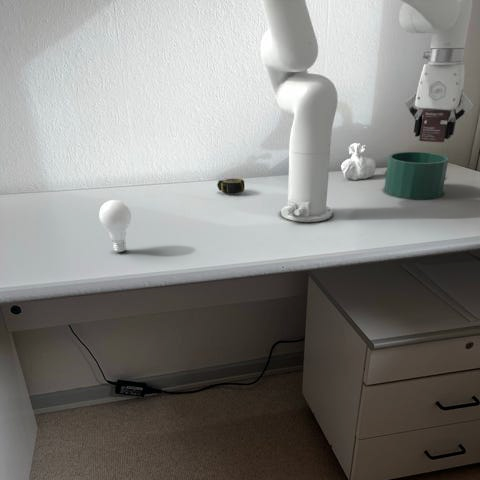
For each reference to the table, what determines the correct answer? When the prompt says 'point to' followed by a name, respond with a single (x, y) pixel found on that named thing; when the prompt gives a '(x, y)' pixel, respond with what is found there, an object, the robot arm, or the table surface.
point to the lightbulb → (116, 222)
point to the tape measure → (231, 186)
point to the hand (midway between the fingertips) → (432, 136)
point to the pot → (415, 175)
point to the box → (434, 125)
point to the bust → (358, 164)
